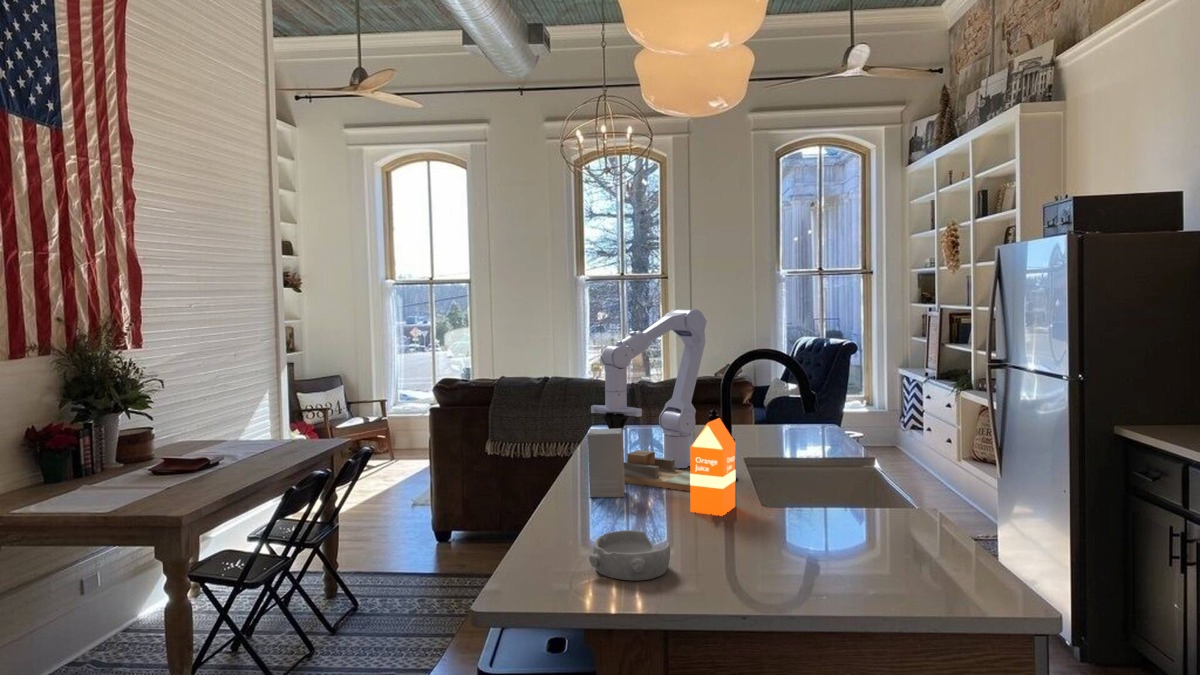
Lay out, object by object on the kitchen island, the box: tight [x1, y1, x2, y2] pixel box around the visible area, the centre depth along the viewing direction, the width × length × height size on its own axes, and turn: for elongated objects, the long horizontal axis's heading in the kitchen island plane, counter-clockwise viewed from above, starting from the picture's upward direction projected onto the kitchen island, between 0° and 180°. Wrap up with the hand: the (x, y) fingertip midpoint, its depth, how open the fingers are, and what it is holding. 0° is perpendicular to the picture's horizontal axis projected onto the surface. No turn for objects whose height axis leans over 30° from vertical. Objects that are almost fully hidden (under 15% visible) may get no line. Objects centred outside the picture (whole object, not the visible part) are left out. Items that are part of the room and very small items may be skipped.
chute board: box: [624, 456, 690, 492], centre depth 204 cm, size 14×24×4 cm, turn 60°
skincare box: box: [586, 428, 626, 498], centre depth 188 cm, size 8×7×16 cm
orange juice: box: [689, 417, 737, 517], centre depth 175 cm, size 8×9×20 cm
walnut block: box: [626, 449, 656, 466], centre depth 206 cm, size 6×5×5 cm
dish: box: [588, 529, 671, 581], centre depth 138 cm, size 14×14×5 cm
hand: (616, 441), depth 210 cm, fingers closed
